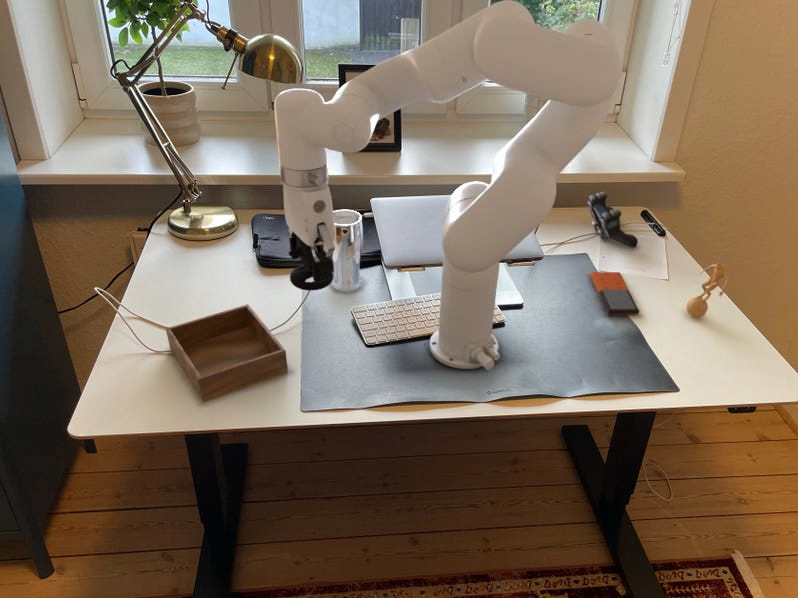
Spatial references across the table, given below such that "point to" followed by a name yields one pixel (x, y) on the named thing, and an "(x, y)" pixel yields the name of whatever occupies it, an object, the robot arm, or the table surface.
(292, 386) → the table surface
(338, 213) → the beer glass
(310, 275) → the webcam
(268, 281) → the table surface
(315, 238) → the robot arm
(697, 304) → the figurine
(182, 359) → the wooden box
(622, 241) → the dark grey mechanical bracket
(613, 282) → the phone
